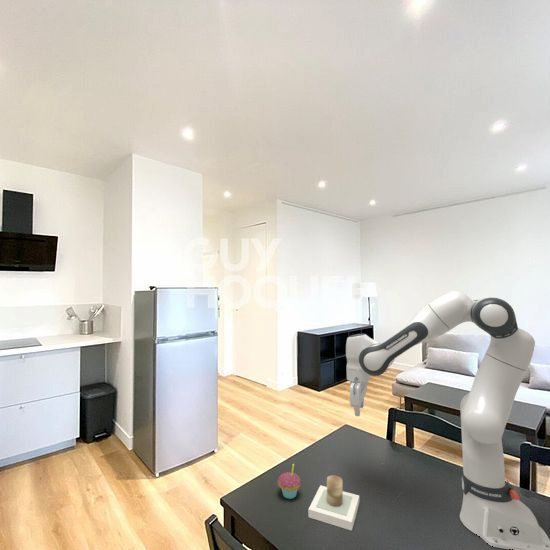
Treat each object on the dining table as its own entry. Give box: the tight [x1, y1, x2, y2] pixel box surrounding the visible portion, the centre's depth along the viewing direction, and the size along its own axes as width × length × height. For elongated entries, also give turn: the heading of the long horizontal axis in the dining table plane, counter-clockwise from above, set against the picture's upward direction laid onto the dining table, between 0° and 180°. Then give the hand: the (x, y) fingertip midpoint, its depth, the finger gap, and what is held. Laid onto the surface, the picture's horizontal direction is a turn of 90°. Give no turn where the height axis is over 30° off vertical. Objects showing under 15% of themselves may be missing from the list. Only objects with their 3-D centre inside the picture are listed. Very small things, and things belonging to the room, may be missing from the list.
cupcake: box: [277, 462, 302, 500], centre depth 111 cm, size 9×8×12 cm
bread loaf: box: [326, 474, 344, 507], centre depth 103 cm, size 5×5×7 cm
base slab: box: [307, 484, 360, 531], centre depth 103 cm, size 14×14×3 cm
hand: (359, 411), depth 119 cm, fingers open, 8 cm apart
